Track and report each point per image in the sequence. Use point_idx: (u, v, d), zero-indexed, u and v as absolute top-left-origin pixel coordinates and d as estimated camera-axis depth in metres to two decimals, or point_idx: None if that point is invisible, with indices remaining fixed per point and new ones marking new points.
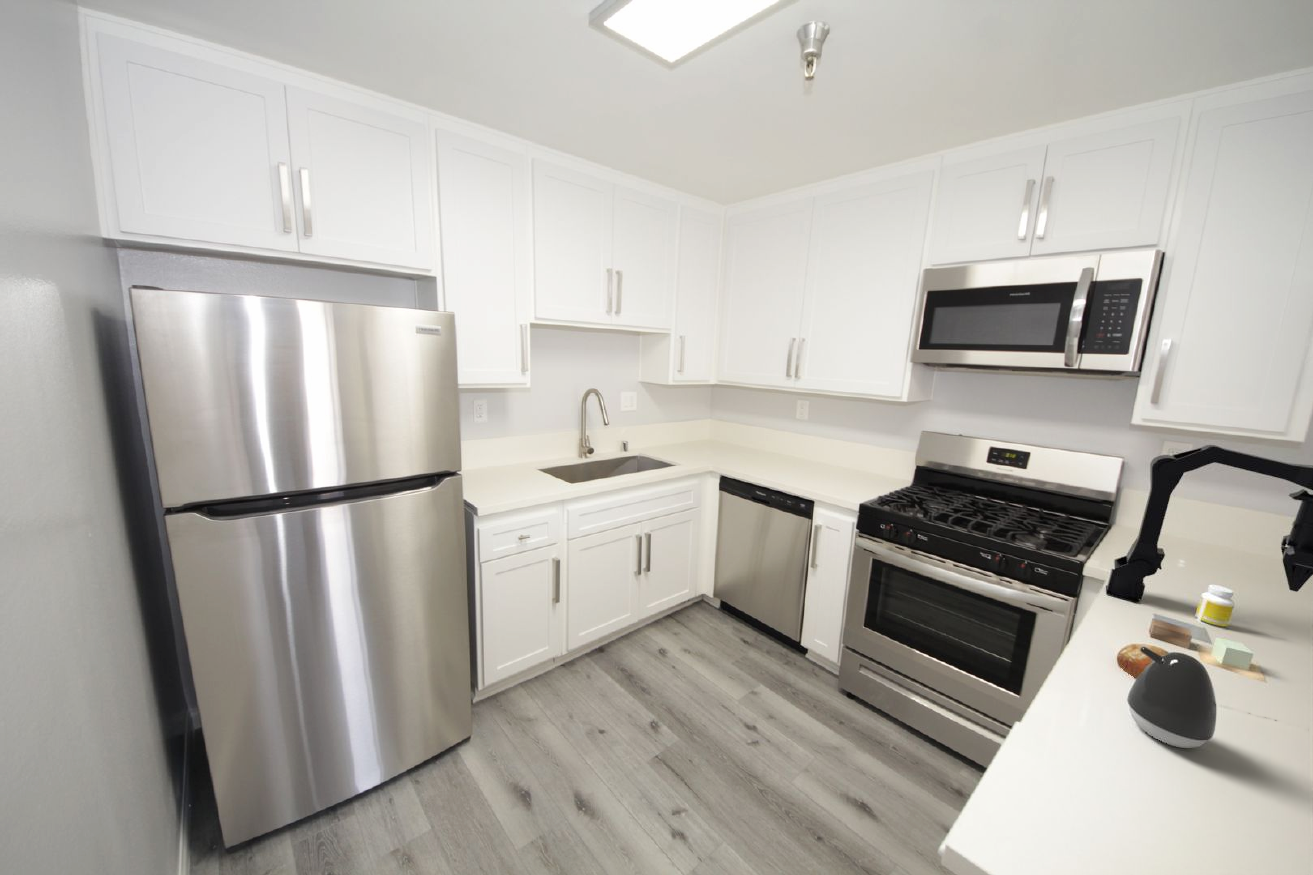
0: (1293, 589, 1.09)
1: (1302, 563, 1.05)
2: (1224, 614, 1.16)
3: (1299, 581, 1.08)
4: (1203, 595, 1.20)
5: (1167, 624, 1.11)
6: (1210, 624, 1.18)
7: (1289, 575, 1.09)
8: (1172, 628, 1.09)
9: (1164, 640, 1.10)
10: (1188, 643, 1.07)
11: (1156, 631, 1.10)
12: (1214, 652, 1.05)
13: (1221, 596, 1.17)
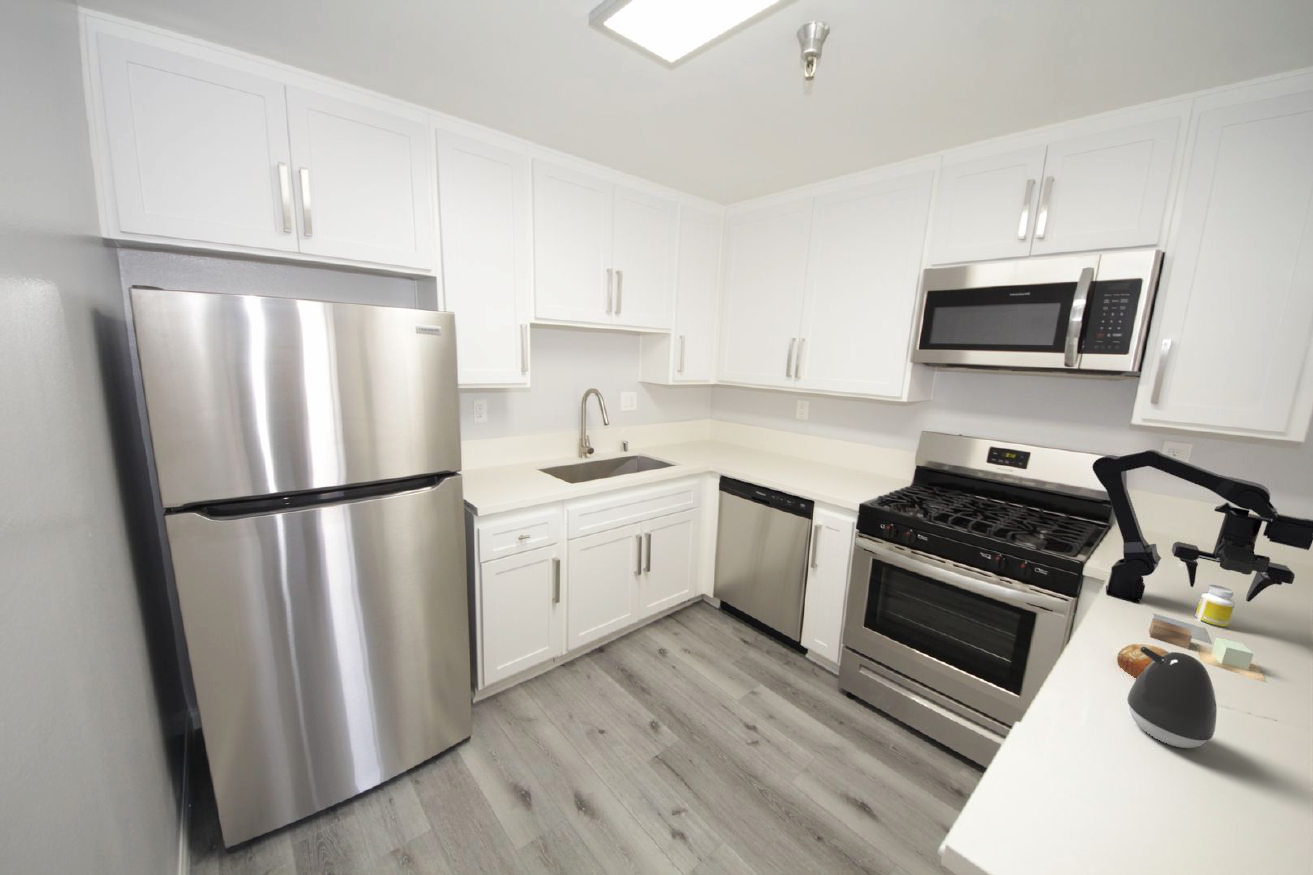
0: (1190, 584, 1.21)
1: (1172, 551, 1.23)
2: (1224, 614, 1.16)
3: None
4: (1203, 595, 1.20)
5: (1167, 624, 1.11)
6: (1210, 624, 1.18)
7: None
8: (1172, 628, 1.09)
9: (1164, 640, 1.10)
10: (1188, 643, 1.07)
11: (1156, 630, 1.10)
12: (1214, 652, 1.05)
13: (1221, 596, 1.17)
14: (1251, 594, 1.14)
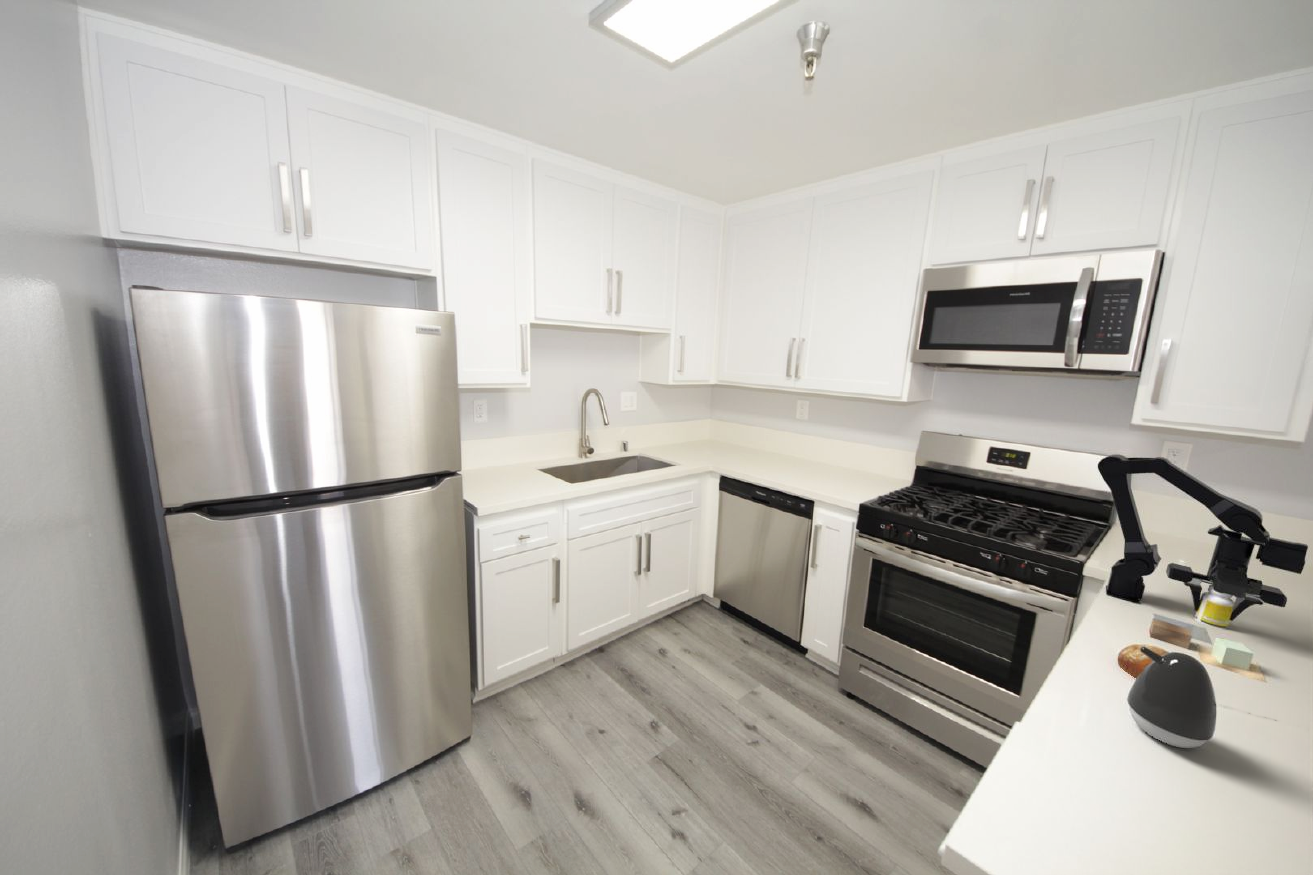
0: (1194, 608, 1.21)
1: (1167, 572, 1.24)
2: (1224, 614, 1.16)
3: (1194, 600, 1.21)
4: (1203, 595, 1.20)
5: (1167, 624, 1.11)
6: (1210, 624, 1.18)
7: None
8: (1172, 628, 1.09)
9: (1164, 640, 1.10)
10: (1188, 643, 1.07)
11: (1156, 630, 1.11)
12: (1214, 652, 1.05)
13: (1221, 596, 1.17)
14: (1234, 613, 1.16)
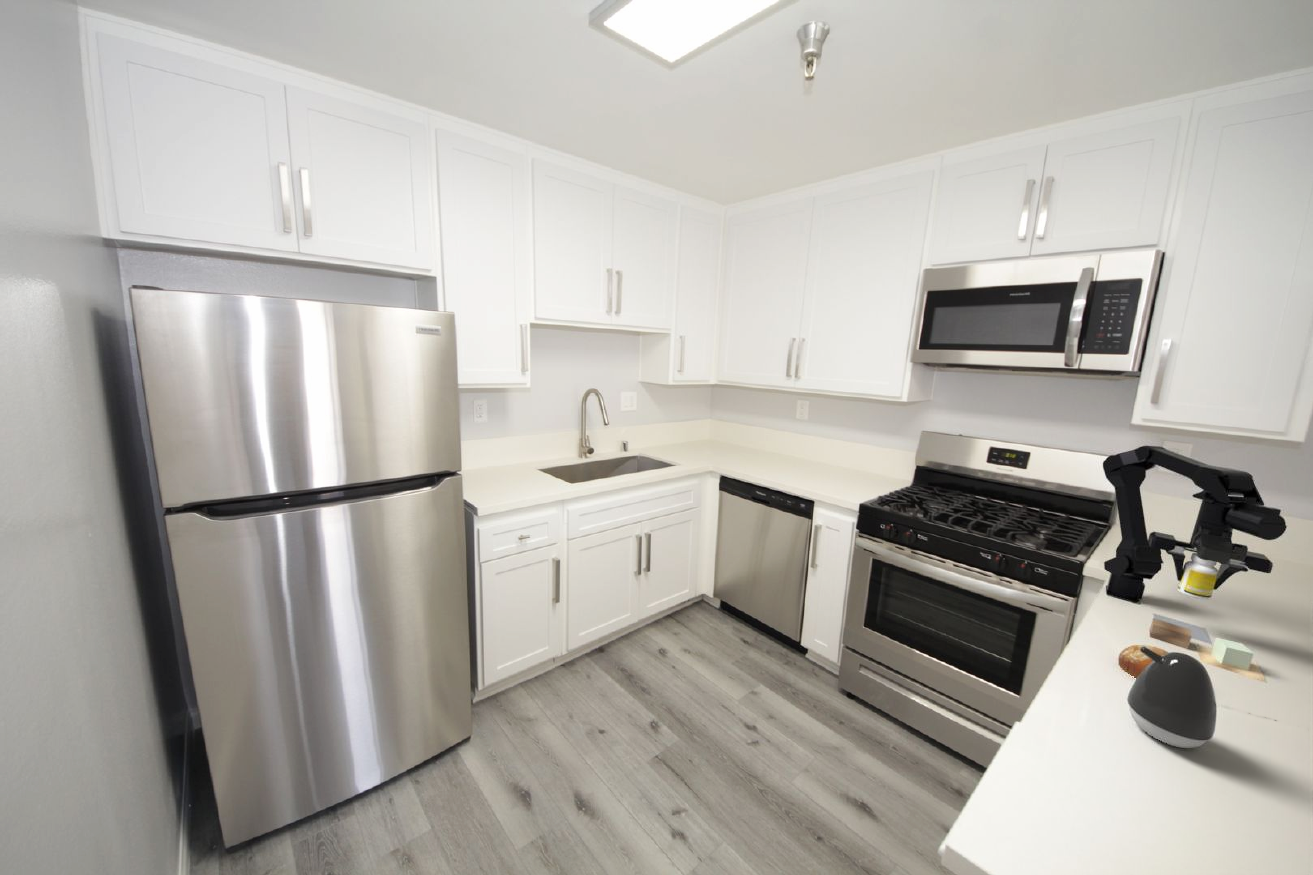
0: (1177, 578, 1.16)
1: (1149, 541, 1.19)
2: (1207, 583, 1.11)
3: (1177, 569, 1.16)
4: (1186, 564, 1.14)
5: (1167, 624, 1.11)
6: (1194, 594, 1.13)
7: (1174, 563, 1.17)
8: (1172, 628, 1.09)
9: (1163, 640, 1.10)
10: (1187, 643, 1.07)
11: (1156, 630, 1.11)
12: (1214, 652, 1.05)
13: (1204, 564, 1.12)
14: (1218, 582, 1.11)
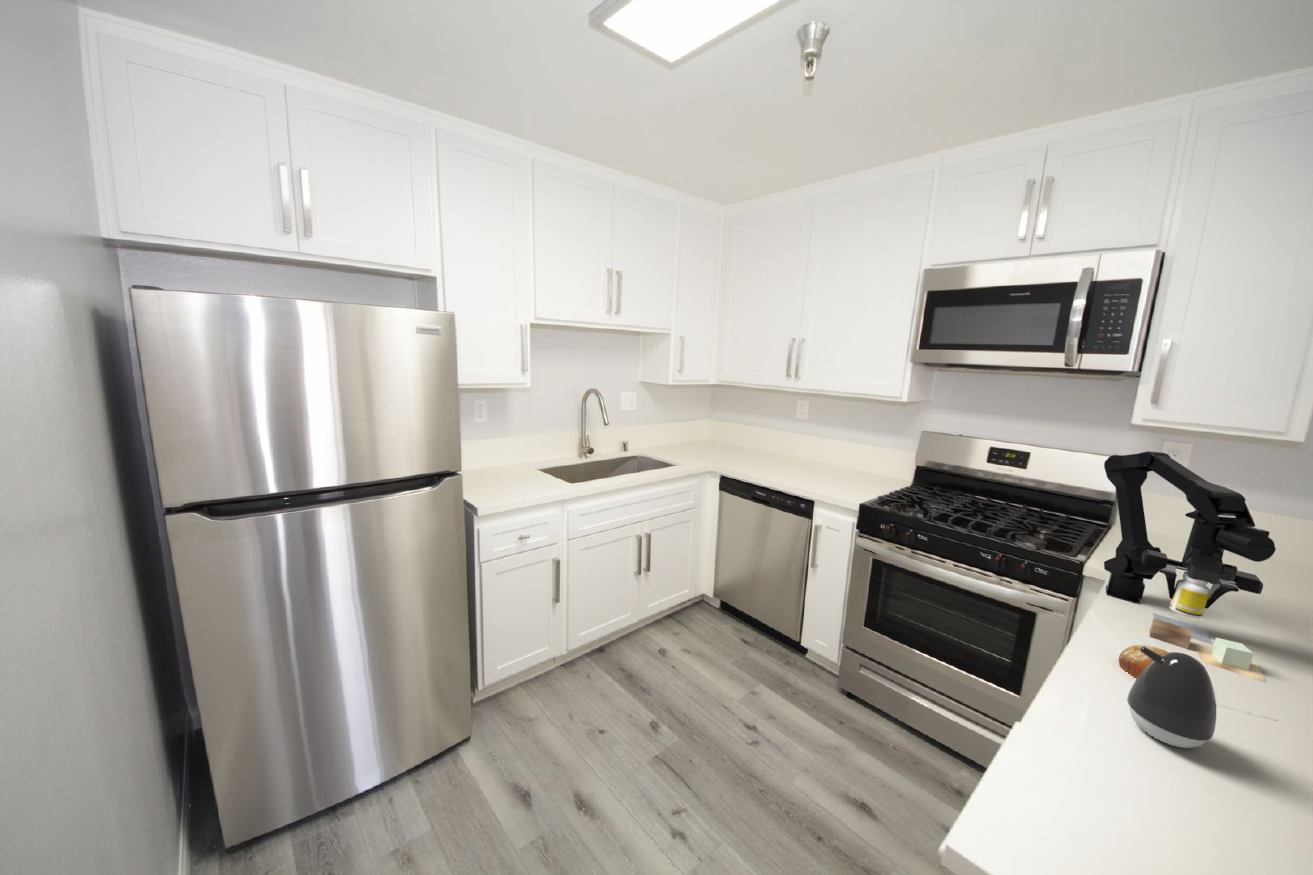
0: (1169, 596, 1.17)
1: (1141, 559, 1.20)
2: (1198, 602, 1.12)
3: None
4: (1178, 582, 1.15)
5: (1167, 624, 1.11)
6: (1185, 612, 1.14)
7: None
8: (1172, 628, 1.09)
9: (1163, 640, 1.10)
10: (1187, 643, 1.07)
11: (1155, 630, 1.11)
12: (1214, 652, 1.05)
13: (1195, 583, 1.13)
14: (1209, 601, 1.12)
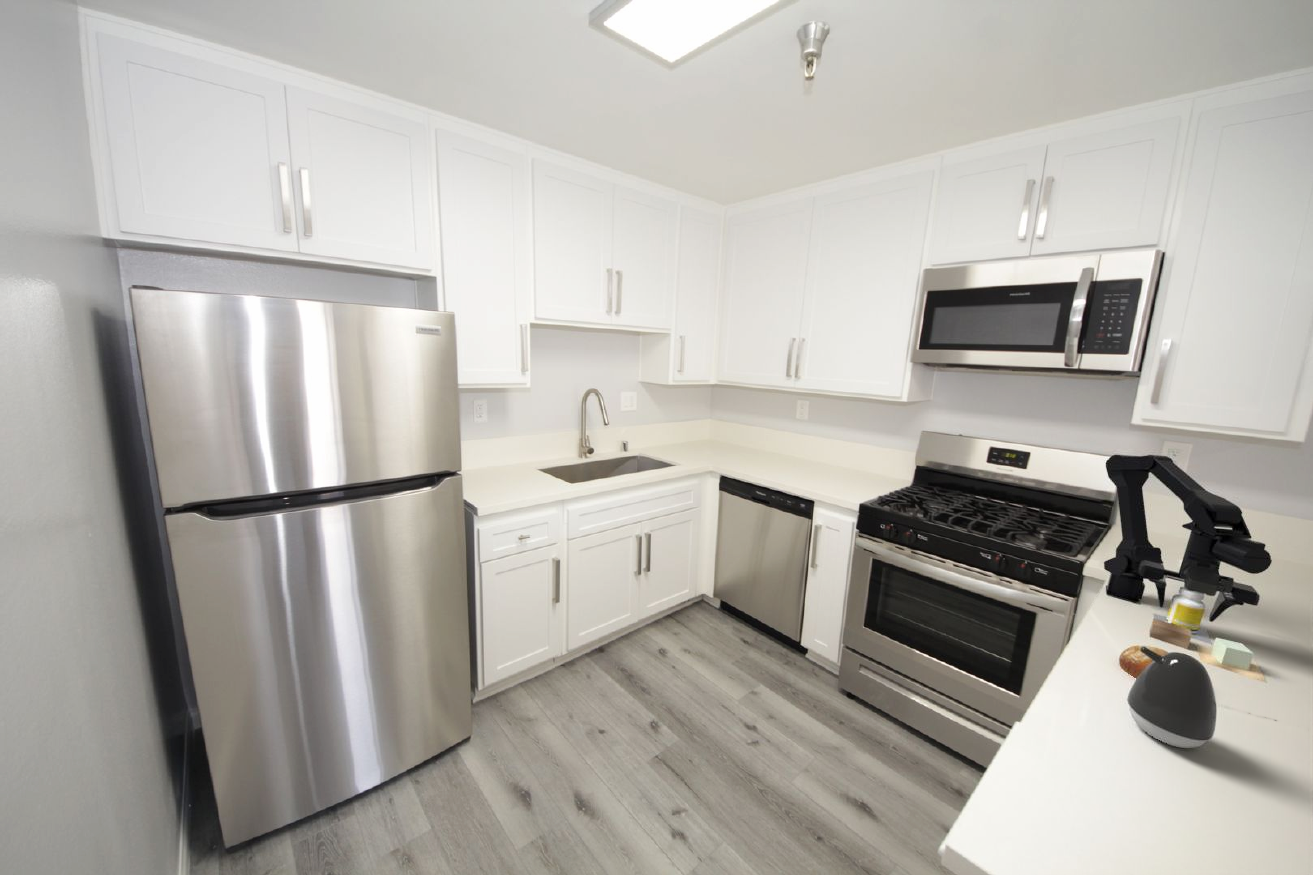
0: None
1: (1139, 569, 1.20)
2: (1194, 617, 1.13)
3: None
4: (1174, 597, 1.16)
5: (1167, 624, 1.11)
6: None
7: (1157, 590, 1.19)
8: (1172, 628, 1.09)
9: (1163, 640, 1.10)
10: (1187, 643, 1.07)
11: (1155, 630, 1.11)
12: (1214, 652, 1.05)
13: (1191, 599, 1.13)
14: (1214, 614, 1.12)
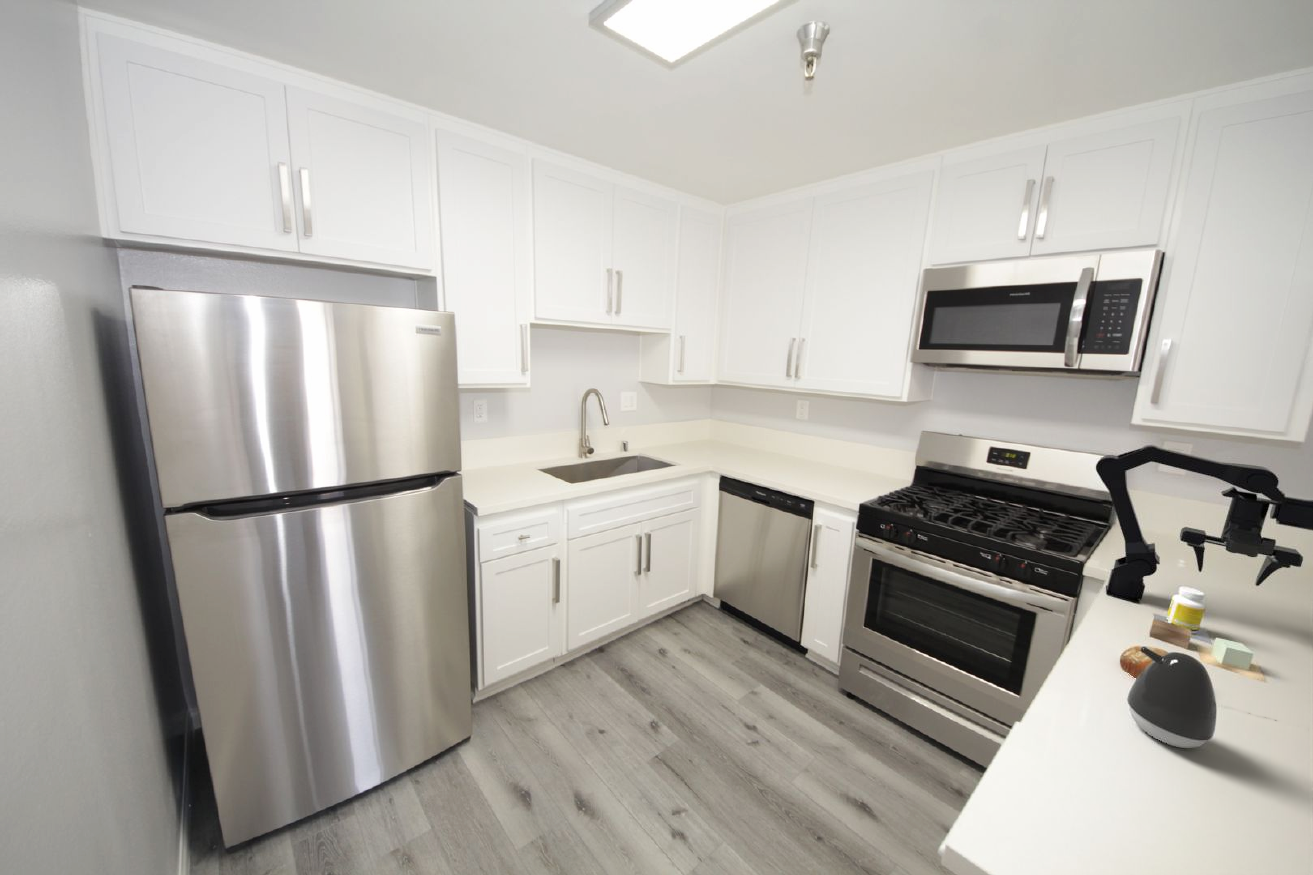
0: (1198, 569, 1.22)
1: (1180, 536, 1.24)
2: (1194, 617, 1.13)
3: None
4: (1174, 597, 1.16)
5: (1167, 624, 1.11)
6: None
7: None
8: (1172, 628, 1.09)
9: (1163, 639, 1.10)
10: (1187, 643, 1.07)
11: (1155, 630, 1.11)
12: (1214, 652, 1.05)
13: (1191, 599, 1.13)
14: (1260, 578, 1.14)
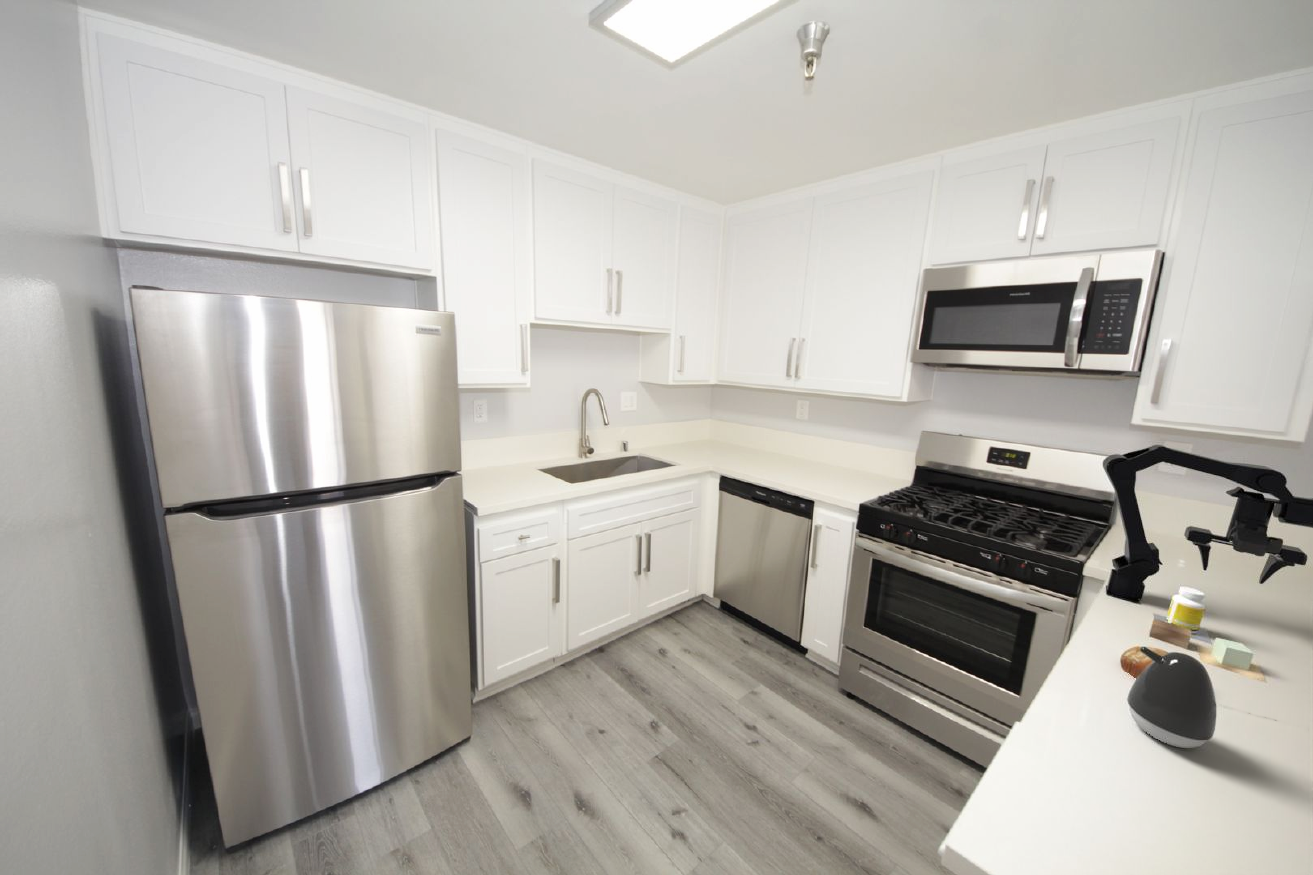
0: (1203, 568, 1.23)
1: (1185, 535, 1.25)
2: (1194, 617, 1.13)
3: (1203, 559, 1.23)
4: (1174, 597, 1.16)
5: (1167, 624, 1.11)
6: None
7: (1200, 554, 1.24)
8: (1172, 628, 1.09)
9: (1163, 639, 1.10)
10: (1187, 643, 1.07)
11: (1155, 630, 1.11)
12: (1214, 652, 1.05)
13: (1191, 599, 1.13)
14: (1264, 576, 1.16)
